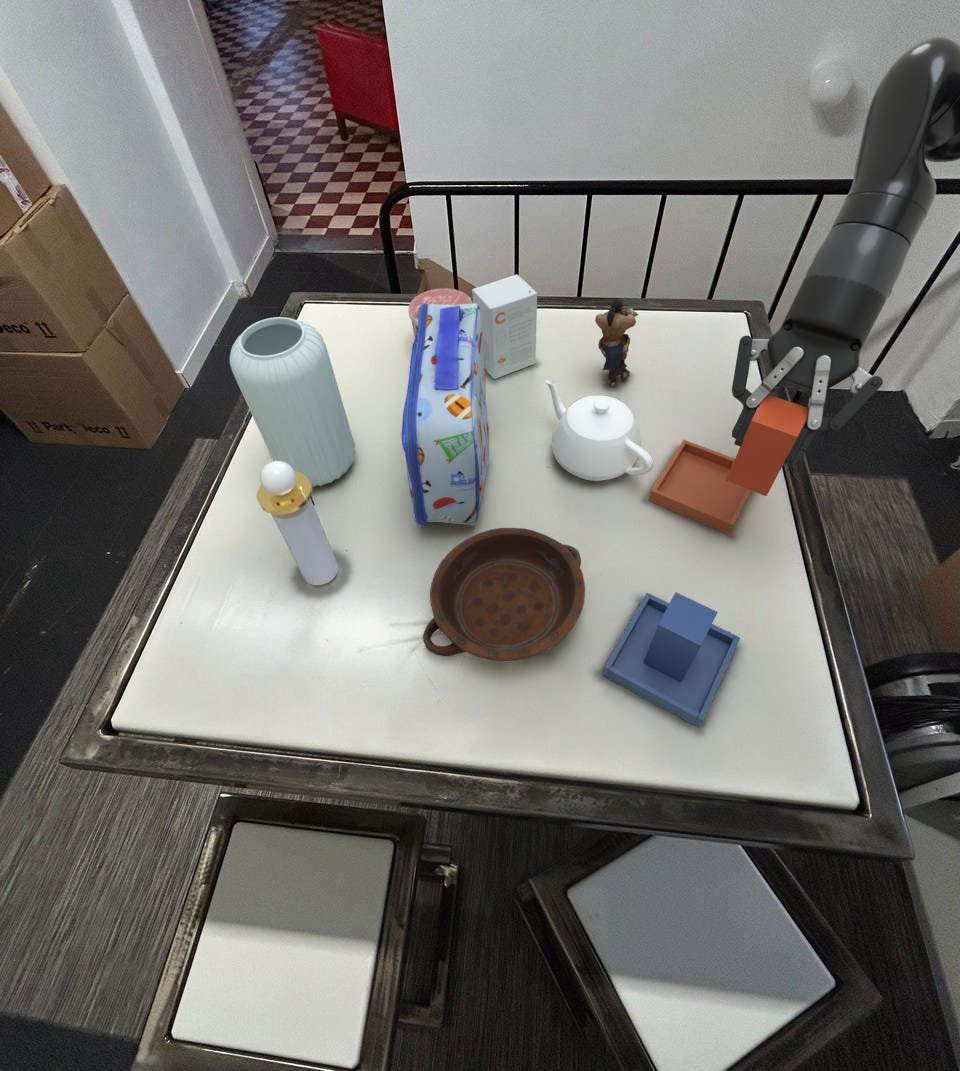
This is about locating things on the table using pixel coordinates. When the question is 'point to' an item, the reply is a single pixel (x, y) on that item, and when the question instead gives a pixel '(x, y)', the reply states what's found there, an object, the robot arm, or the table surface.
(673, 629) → the blue block
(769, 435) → the terracotta block
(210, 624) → the table surface
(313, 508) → the perfume bottle
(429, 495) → the lunch box
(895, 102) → the robot arm
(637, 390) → the table surface
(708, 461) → the terracotta tray
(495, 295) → the small box
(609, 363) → the figurine
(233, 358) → the vase
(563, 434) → the teapot
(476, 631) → the dish
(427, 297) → the container
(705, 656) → the blue tray
